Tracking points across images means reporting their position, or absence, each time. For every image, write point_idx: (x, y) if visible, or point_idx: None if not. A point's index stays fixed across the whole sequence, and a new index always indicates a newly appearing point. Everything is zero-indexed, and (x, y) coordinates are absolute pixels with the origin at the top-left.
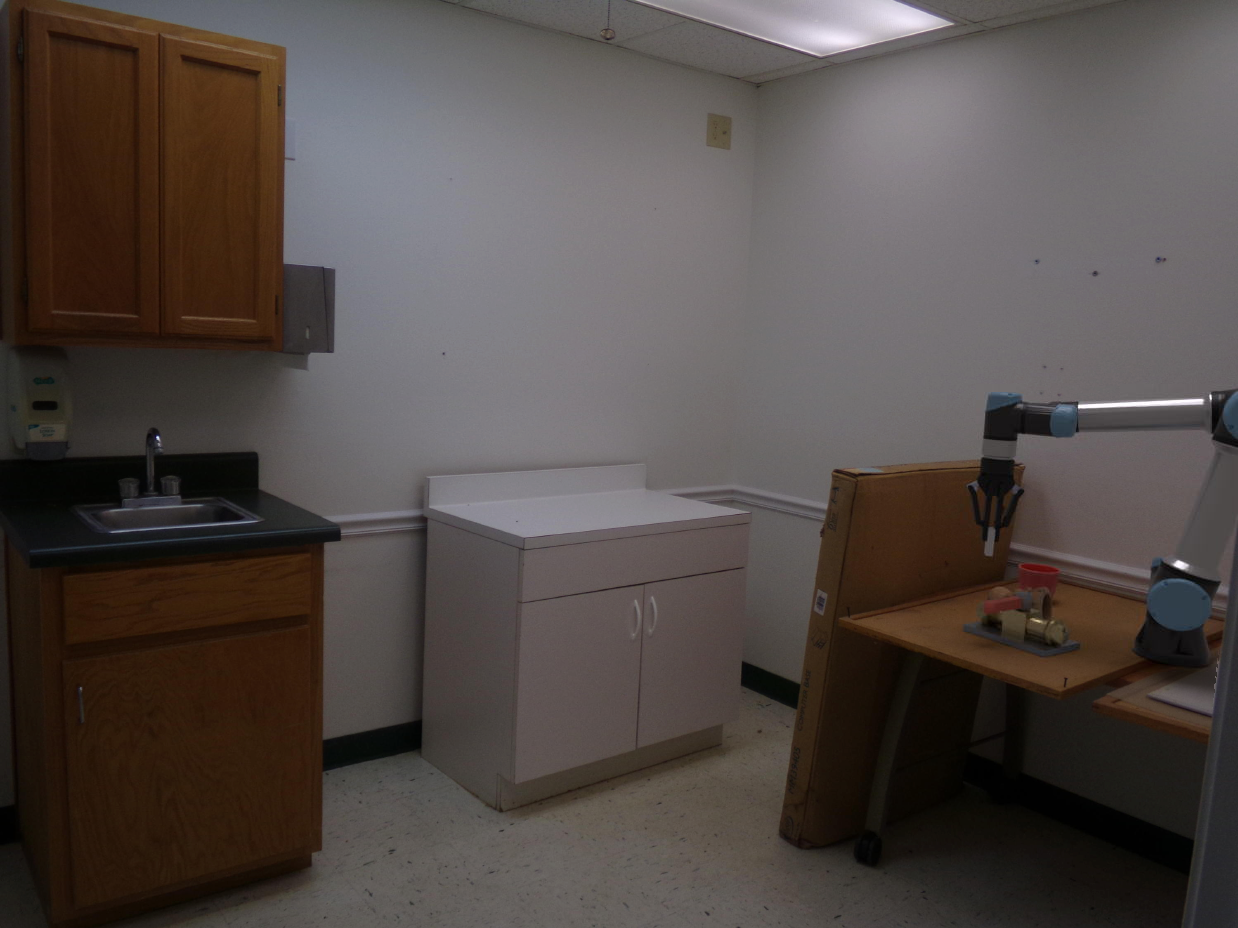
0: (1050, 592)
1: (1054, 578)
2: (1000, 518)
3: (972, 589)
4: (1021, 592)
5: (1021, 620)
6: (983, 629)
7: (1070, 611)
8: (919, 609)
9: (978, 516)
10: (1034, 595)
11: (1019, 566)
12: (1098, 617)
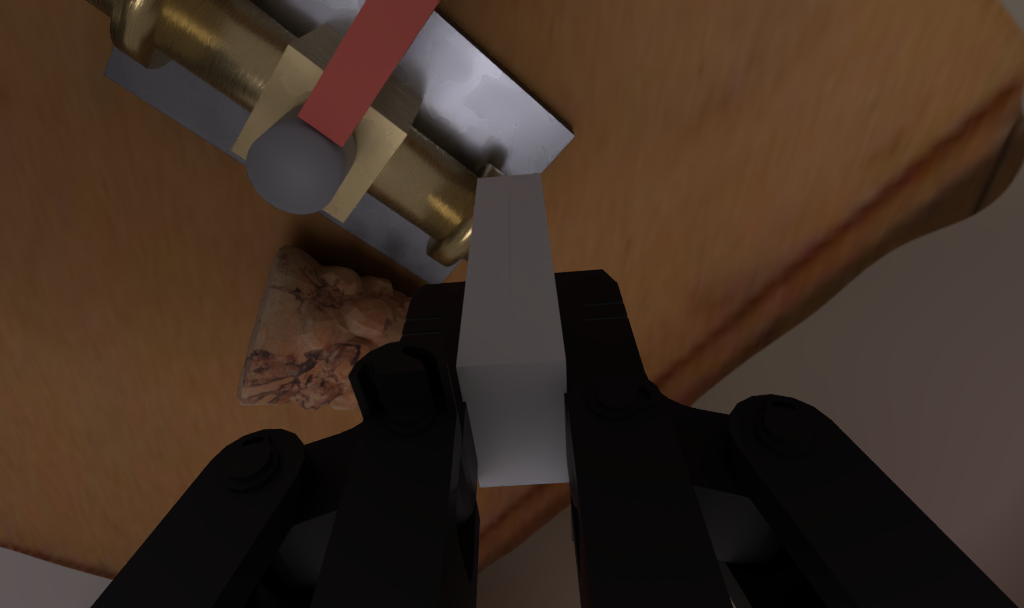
0: None
1: None
2: (341, 580)
3: (500, 535)
4: (308, 190)
5: (323, 52)
6: (496, 93)
7: None
8: (687, 322)
9: (878, 555)
10: (287, 333)
11: None
12: (168, 443)
